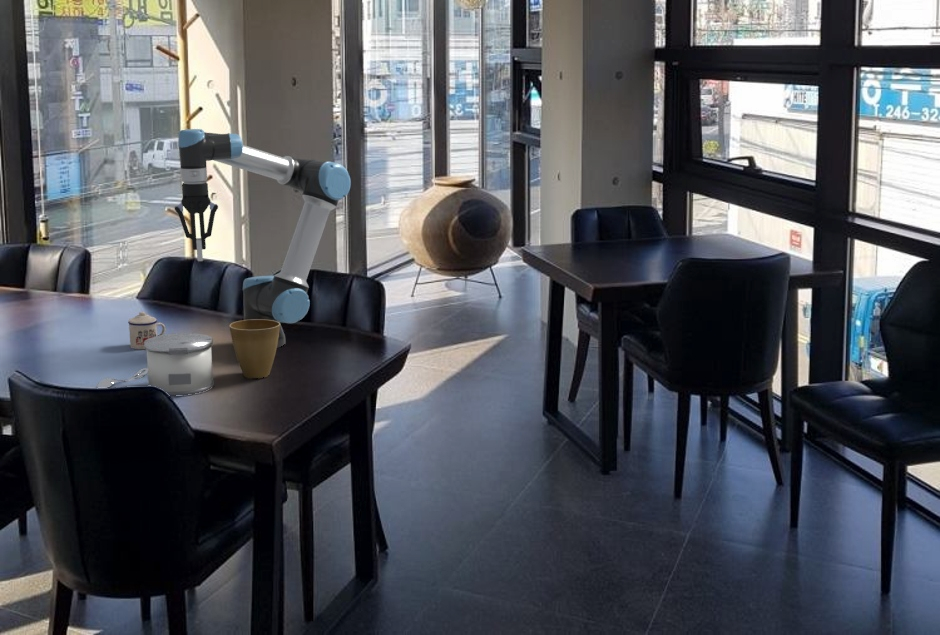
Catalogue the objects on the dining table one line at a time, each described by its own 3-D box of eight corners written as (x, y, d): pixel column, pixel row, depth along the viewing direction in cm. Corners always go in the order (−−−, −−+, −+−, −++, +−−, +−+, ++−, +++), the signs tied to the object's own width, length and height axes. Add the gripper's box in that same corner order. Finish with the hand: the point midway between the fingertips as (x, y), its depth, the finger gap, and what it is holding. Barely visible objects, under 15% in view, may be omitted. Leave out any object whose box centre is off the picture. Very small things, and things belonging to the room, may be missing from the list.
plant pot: (291, 375, 332) (290, 324, 329) (251, 385, 322) (249, 332, 318) (261, 366, 342) (259, 316, 338) (221, 375, 331) (219, 323, 328)
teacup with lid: (135, 351, 357) (133, 316, 354) (125, 345, 364) (123, 311, 361) (170, 346, 364) (169, 312, 361) (160, 340, 371) (159, 306, 368)
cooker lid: (212, 337, 328) (212, 331, 327) (213, 353, 307) (213, 347, 307) (146, 340, 323) (145, 334, 323) (142, 356, 303) (142, 351, 303)
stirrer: (140, 360, 333) (153, 362, 331) (141, 372, 334) (154, 374, 332) (93, 381, 315) (105, 383, 313) (94, 393, 316) (107, 395, 314)
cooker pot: (213, 376, 330) (211, 337, 327) (214, 394, 312) (212, 353, 310) (148, 379, 326) (146, 340, 323) (146, 398, 308) (144, 357, 305)
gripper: (172, 184, 320) (178, 264, 326) (217, 182, 324) (222, 261, 330) (171, 181, 327) (177, 259, 333) (216, 179, 331) (221, 256, 337)
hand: (200, 260), depth 332 cm, fingers closed
